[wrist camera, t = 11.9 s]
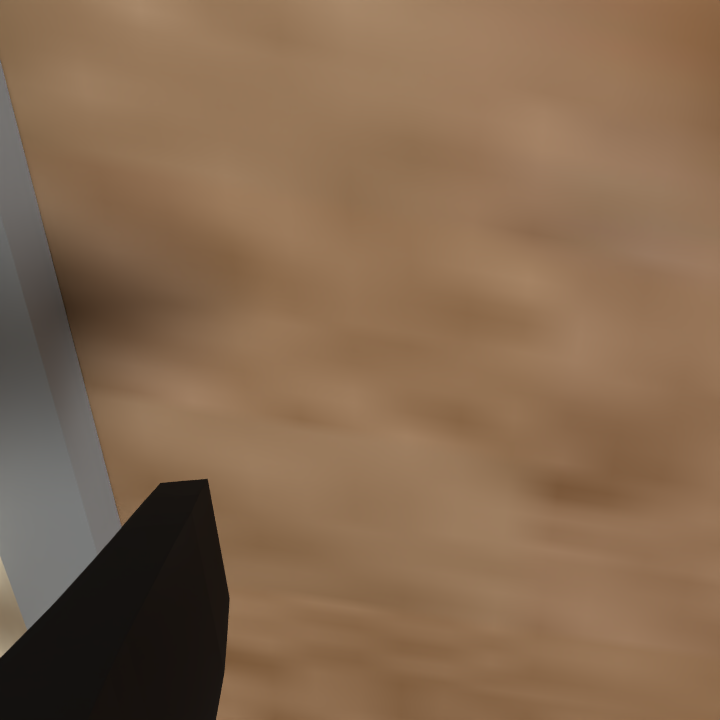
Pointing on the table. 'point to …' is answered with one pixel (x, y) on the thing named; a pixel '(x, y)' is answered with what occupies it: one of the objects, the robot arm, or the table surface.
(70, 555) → the loading dock
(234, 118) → the table surface
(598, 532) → the table surface
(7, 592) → the beige bar
